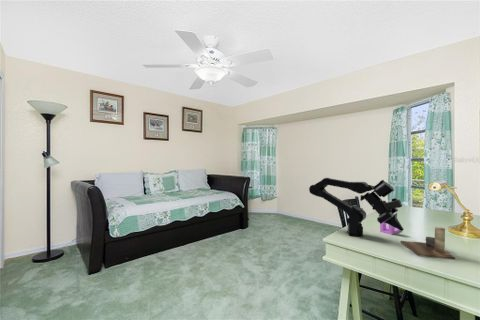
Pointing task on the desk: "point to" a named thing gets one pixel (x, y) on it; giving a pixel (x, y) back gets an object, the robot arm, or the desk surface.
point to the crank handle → (437, 240)
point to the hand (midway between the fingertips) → (402, 230)
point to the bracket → (388, 229)
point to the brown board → (425, 250)
